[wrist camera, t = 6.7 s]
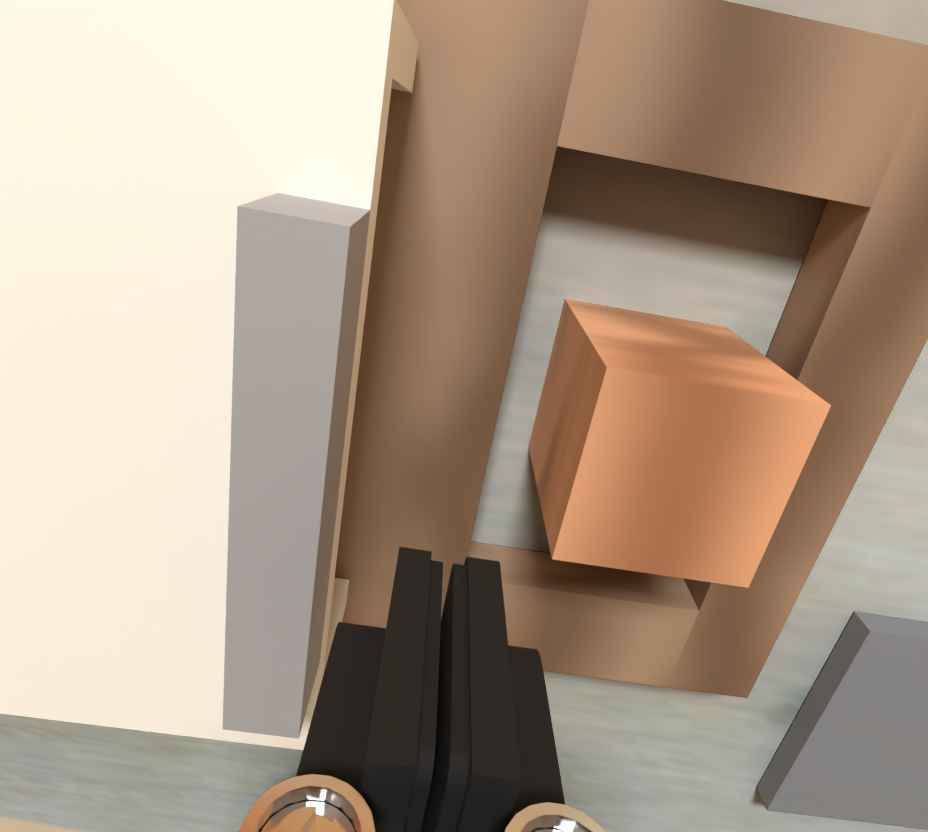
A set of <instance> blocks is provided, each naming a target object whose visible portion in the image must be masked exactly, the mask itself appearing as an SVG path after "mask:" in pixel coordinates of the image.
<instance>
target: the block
mask: <svg viewBox="0 0 928 832" xmlns="http://www.w3.org/2000/svg"><path fill="white" fill-rule="evenodd" d="M830 407H831V405H830V404H828V403H827V402H826V401H824V400H823V399H822V398H820V397H819V396H818V395H816V394H815V393H814V392H812V391H811V390H810V389H808V388H807V387H806V386H804V385H803V384H802V383H800V382H799V381H798V380H796V379H795V378H794V377H792V376H791V375H789V374H788V373H787V372H785V371H784V370H783V369H781V368H780V367H779V366H777V365H776V364H775V363H773V362H772V361H771V360H769V359H768V358H767V357H765V356H764V355H763V354H761V353H760V352H759V351H757V350H756V349H755V348H753V347H752V346H750V345H749V344H748V343H746V342H745V341H744V340H742V339H741V338H740V337H738V336H737V335H736V334H734V333H733V332H732V331H730V330H729V329H728V328H726V327H721V326H716V325H710V324H704V323H699V322H693V321H687V320H682V319H676V318H670V317H665V316H659V315H653V314H648V313H642V312H636V311H631V310H625V309H619V308H614V307H608V306H602V305H597V304H591V303H585V302H580V301H574V300H568V299H565V301H564V305H563V309H562V313H561V317H560V321H559V325H558V329H557V333H556V337H555V341H554V345H553V350H552V354H551V358H550V362H549V366H548V370H547V374H546V378H545V382H544V386H543V390H542V394H541V398H540V402H539V406H538V411H537V415H536V419H535V423H534V427H533V431H532V435H531V439H530V443H529V451H530V456H531V461H532V466H533V471H534V475H535V480H536V485H537V490H538V495H539V500H540V504H541V509H542V514H543V519H544V524H545V528H546V533H547V538H548V543H549V548H550V552H551V557H552V559H553V560H560V561H567V562H574V563H581V564H588V565H595V566H601V567H608V568H615V569H622V570H629V571H636V572H643V573H650V574H657V575H664V576H670V577H677V578H684V579H691V580H698V581H705V582H712V583H719V584H726V585H733V586H739V587H746V588H749V585H750V583H751V581H752V579H753V577H754V574H755V572H756V570H757V568H758V566H759V563H760V561H761V559H762V557H763V555H764V552H765V550H766V548H767V546H768V544H769V541H770V539H771V537H772V535H773V533H774V530H775V528H776V526H777V524H778V522H779V519H780V517H781V515H782V513H783V511H784V508H785V506H786V504H787V502H788V500H789V497H790V495H791V493H792V491H793V489H794V486H795V484H796V482H797V480H798V478H799V475H800V473H801V471H802V469H803V467H804V464H805V462H806V460H807V458H808V456H809V453H810V451H811V449H812V447H813V445H814V442H815V440H816V438H817V436H818V434H819V431H820V429H821V427H822V425H823V423H824V420H825V418H826V416H827V414H828V412H829V409H830Z"/></svg>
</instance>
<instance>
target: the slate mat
mask: <svg viewBox="0 0 928 832" xmlns="http://www.w3.org/2000/svg"><path fill="white" fill-rule="evenodd" d="M757 790H758V792H759V794H760V797H761V799H762V801H763V803H764V805H765V808H766V810H768V811H776V812H785V813H793V814H801V815H810V816H818V817H826V818H834V819H843V820H851V821H859V822H867V823H876V824H884V825H892V826H901V827H909V828H917V829H925V830H928V623H927V622H921V621H914V620H907V619H900V618H893V617H886V616H880V615H873V614H866V613H859V612H854V613H853V615H852V617H851V619H850V621H849V622H848V624H847V626H846V628H845V630H844V631H843V633H842V635H841V637H840V639H839V640H838V642H837V644H836V646H835V648H834V649H833V651H832V653H831V655H830V657H829V658H828V660H827V662H826V664H825V666H824V667H823V669H822V671H821V673H820V675H819V676H818V678H817V680H816V682H815V684H814V685H813V687H812V689H811V691H810V693H809V694H808V696H807V698H806V700H805V702H804V703H803V705H802V707H801V709H800V711H799V712H798V714H797V716H796V718H795V720H794V721H793V723H792V725H791V727H790V729H789V730H788V732H787V734H786V736H785V738H784V739H783V741H782V743H781V745H780V747H779V748H778V750H777V752H776V754H775V756H774V757H773V759H772V761H771V763H770V765H769V766H768V768H767V770H766V772H765V774H764V775H763V777H762V779H761V781H760V783H759V784H758V786H757Z"/></svg>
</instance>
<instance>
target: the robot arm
mask: <svg viewBox="0 0 928 832" xmlns="http://www.w3.org/2000/svg"><path fill="white" fill-rule="evenodd" d="M431 556H432V552H431V551H426V550H420V549H413V548H406V547H399V553H398V559H397V565H396V571H395V577H394V583H393V589H392V595H391V601H390V607H389V613H388V619H387V625H386V628H380V627H373V626H365V625H358V624H351V623H344V622H338V624H337V627H336V630H335V634H334V638H333V641H332V645H331V649H330V653H329V656H328V660H327V664H326V667H325V671H324V675H323V679H322V682H321V686H320V690H319V694H318V697H317V701H316V705H315V709H314V712H313V716H312V720H311V723H310V727H309V731H308V735H307V738H306V742H305V746H304V750H303V753H302V757H301V761H300V765H299V768H298V772H297V776H296V777H292V778H289V779H287V780H285V781H283V782H281V783H279V784H276V785H274V786H273V787H272V788H270V789H269V790H268V791H267V792H266V793H264V794H263V795H262V796H261V797H260V798H258V799H257V801H256V802H255V804H254V805H253V806H252V808H251V809H250V811H249V812H248V814H247V815H246V817H245V818H244V820H243V822H242V825H241V827H240V829H239V831H238V832H606V831H605V830H604V829H603V828H602V827H601V826H600V824H598V823H597V822H596V821H594V820H593V819H591V818H590V817H589V816H587V815H586V814H585V813H583V812H581V811H579V810H577V809H574V808H572V807H570V806H567V805H565V802H564V796H563V790H562V784H561V777H560V771H559V765H558V759H557V753H556V747H555V741H554V735H553V729H552V722H551V716H550V710H549V704H548V698H547V692H546V686H545V680H544V673H543V667H542V661H541V657H540V653H539V652H538V650H537V649H532V648H524V647H517V646H510V645H508V637H507V627H506V617H505V607H504V597H503V587H502V577H501V567H500V562H499V561H494V560H487V559H480V558H474V557H466V560H465V563H464V565H460V564H454V563H453V565H452V568H451V573H450V578H449V583H448V588H447V592H446V597H445V602H444V607H443V612H442V617H441V605H442V581H443V562H440V561H433V560H431Z"/></svg>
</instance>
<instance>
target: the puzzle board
mask: <svg viewBox="0 0 928 832" xmlns="http://www.w3.org/2000/svg"><path fill="white" fill-rule="evenodd" d="M397 2H398V3H399V5H400V7H401V9H402V11H403V13H404V15H405V17H406V19H407V21H408V23H409V25H410V27H411V29H412V31H413V33H414V35H415V37H416V39H417V41H418V42H419V44H418V52H417V59H416V67H415V75H414V83H413V90H412V93H411V92H406V91H401V90H396V89H391V96H390V105H389V113H388V122H387V131H386V139H385V148H384V156H383V165H382V174H381V182H380V191H379V199H378V208H377V217H376V225H375V234H374V242H373V251H372V260H371V268H370V277H369V285H368V294H367V303H366V311H365V320H364V328H363V337H362V346H361V354H360V363H359V371H358V380H357V389H356V397H355V406H354V414H353V423H352V431H351V440H350V449H349V457H348V466H347V474H346V483H345V492H344V500H343V509H342V517H341V526H340V535H339V543H338V552H337V560H336V569H335V578H340V579H347V580H349V587H348V595H347V603H346V608H345V612H344V616H343V620H342V622H344V623H351V624H358V625H365V626H373V627H380V628H386V625H387V619H388V613H389V607H390V601H391V595H392V589H393V583H394V577H395V571H396V565H397V559H398V553H399V547H406V548H413V549H420V550H426V551H431V552H432V556H431V560H433V561H440V562H443V581H442V605H441V617H442V612H443V607H444V602H445V597H446V592H447V588H448V583H449V578H450V573H451V568H452V565H453V563H454V564H460V565H464V563H465V560H466V557H474V558H480V559H487V560H494V561H499V562H500V567H501V577H502V587H503V597H504V607H505V617H506V627H507V637H508V645H510V646H517V647H524V648H532V649H537V650H538V652H539V653H540V657H541V661H542V667H543V671H550V672H557V673H565V674H572V675H580V676H587V677H595V678H602V679H609V680H617V681H624V682H632V683H639V684H647V685H654V686H662V687H669V688H676V689H684V690H691V691H699V692H706V693H714V694H721V695H729V696H736V697H744V698H748V696H749V694H750V692H751V690H752V688H753V686H754V684H755V682H756V680H757V678H758V676H759V674H760V672H761V670H762V668H763V666H764V664H765V662H766V660H767V658H768V656H769V654H770V652H771V650H772V648H773V646H774V644H775V642H776V640H777V638H778V636H779V634H780V632H781V630H782V628H783V626H784V624H785V622H786V620H787V618H788V616H789V614H790V612H791V610H792V608H793V606H794V604H795V602H796V600H797V598H798V596H799V594H800V592H801V590H802V588H803V586H804V584H805V582H806V580H807V578H808V576H809V574H810V572H811V570H812V568H813V566H814V564H815V562H816V560H817V558H818V556H819V554H820V552H821V550H822V548H823V546H824V544H825V542H826V540H827V538H828V536H829V534H830V532H831V530H832V528H833V526H834V524H835V522H836V520H837V518H838V516H839V514H840V512H841V510H842V508H843V506H844V504H845V502H846V500H847V498H848V497H849V495H850V493H851V491H852V489H853V487H854V485H855V483H856V481H857V479H858V477H859V475H860V473H861V471H862V469H863V467H864V465H865V463H866V461H867V459H868V457H869V455H870V453H871V451H872V449H873V447H874V445H875V443H876V441H877V439H878V437H879V435H880V433H881V431H882V429H883V427H884V425H885V423H886V421H887V419H888V417H889V415H890V413H891V411H892V409H893V407H894V405H895V403H896V401H897V399H898V397H899V395H900V393H901V391H902V389H903V387H904V385H905V383H906V381H907V379H908V377H909V375H910V373H911V371H912V369H913V367H914V365H915V363H916V361H917V359H918V357H919V355H920V353H921V351H922V349H923V347H924V345H925V343H926V341H927V339H928V45H925V44H920V43H915V42H911V41H906V40H902V39H897V38H893V37H888V36H883V35H879V34H874V33H870V32H865V31H860V30H856V29H851V28H847V27H842V26H837V25H833V24H828V23H824V22H819V21H815V20H810V19H805V18H801V17H796V16H792V15H787V14H782V13H778V12H773V11H769V10H764V9H759V8H755V7H750V6H746V5H741V4H737V3H732V2H727V1H723V0H397ZM557 146H558V147H563V148H568V149H573V150H578V151H583V152H588V153H594V154H599V155H604V156H609V157H614V158H619V159H624V160H629V161H634V162H639V163H644V164H650V165H655V166H660V167H665V168H670V169H675V170H680V171H685V172H690V173H695V174H700V175H705V176H711V177H716V178H721V179H726V180H731V181H736V182H741V183H746V184H751V185H756V186H761V187H767V188H772V189H777V190H782V191H787V192H792V193H797V194H802V195H807V196H812V197H817V198H823V199H828V202H827V204H826V207H825V209H824V212H823V214H822V217H821V219H820V222H819V224H818V227H817V229H816V232H815V234H814V237H813V239H812V242H811V244H810V247H809V249H808V252H807V255H806V257H805V260H804V262H803V265H802V267H801V270H800V272H799V275H798V277H797V280H796V282H795V285H794V287H793V290H792V292H791V295H790V297H789V300H788V302H787V305H786V307H785V310H784V313H783V315H782V318H781V320H780V323H779V325H778V328H777V330H776V333H775V335H774V338H773V340H772V343H771V345H770V348H769V350H768V353H767V355H766V357H767V358H768V359H769V360H771V361H772V362H773V363H775V364H776V365H777V366H779V367H780V368H781V369H783V370H784V371H785V372H787V373H788V374H789V375H791V376H792V377H794V378H795V379H796V380H798V381H799V382H800V383H802V384H803V385H804V386H806V387H807V388H808V389H810V390H811V391H812V392H814V393H815V394H816V395H818V396H819V397H820V398H822V399H823V400H824V401H826V402H827V403H828V404H830V405H831V407H830V409H829V412H828V414H827V416H826V418H825V420H824V423H823V425H822V427H821V429H820V431H819V434H818V436H817V438H816V440H815V442H814V445H813V447H812V449H811V451H810V453H809V456H808V458H807V460H806V462H805V464H804V467H803V469H802V471H801V473H800V475H799V478H798V480H797V482H796V484H795V486H794V489H793V491H792V493H791V495H790V497H789V500H788V502H787V504H786V506H785V508H784V511H783V513H782V515H781V517H780V519H779V522H778V524H777V526H776V528H775V530H774V533H773V535H772V537H771V539H770V541H769V544H768V546H767V548H766V550H765V552H764V555H763V557H762V559H761V561H760V563H759V566H758V568H757V570H756V572H755V574H754V577H753V579H752V581H751V583H750V585H749V588H746V587H739V586H733V585H726V584H719V583H712V582H705V581H698V580H691V579H684V578H677V577H670V576H664V575H657V574H650V573H643V572H636V571H629V570H622V569H615V568H608V567H601V566H595V565H588V564H581V563H574V562H567V561H560V560H553V559H552V557H551V553H544V552H537V551H531V550H524V549H517V548H510V547H504V546H497V545H490V544H483V543H477V542H470V539H471V534H472V530H473V525H474V521H475V516H476V512H477V507H478V502H479V498H480V493H481V489H482V484H483V480H484V475H485V471H486V466H487V462H488V457H489V453H490V448H491V443H492V439H493V434H494V430H495V425H496V421H497V416H498V412H499V407H500V403H501V398H502V393H503V389H504V384H505V380H506V375H507V371H508V366H509V362H510V357H511V353H512V348H513V344H514V339H515V334H516V330H517V325H518V321H519V316H520V312H521V307H522V303H523V298H524V294H525V289H526V284H527V280H528V275H529V271H530V266H531V262H532V257H533V253H534V248H535V244H536V239H537V235H538V230H539V225H540V221H541V216H542V212H543V207H544V203H545V198H546V194H547V189H548V185H549V180H550V176H551V171H552V166H553V162H554V157H555V153H556V148H557Z"/></svg>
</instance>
